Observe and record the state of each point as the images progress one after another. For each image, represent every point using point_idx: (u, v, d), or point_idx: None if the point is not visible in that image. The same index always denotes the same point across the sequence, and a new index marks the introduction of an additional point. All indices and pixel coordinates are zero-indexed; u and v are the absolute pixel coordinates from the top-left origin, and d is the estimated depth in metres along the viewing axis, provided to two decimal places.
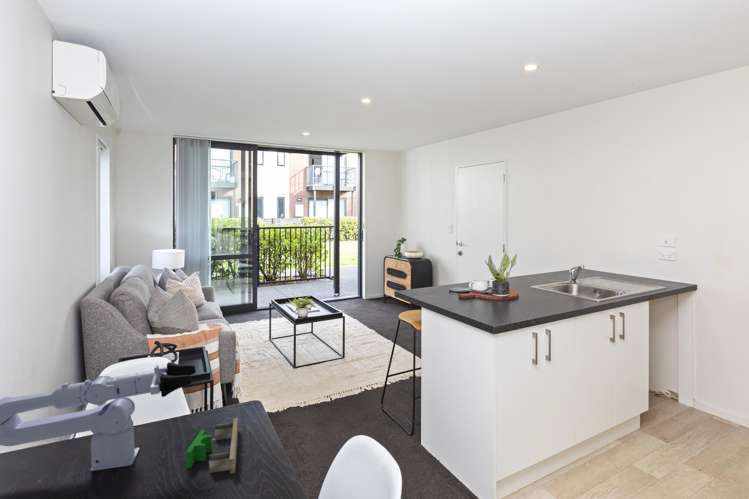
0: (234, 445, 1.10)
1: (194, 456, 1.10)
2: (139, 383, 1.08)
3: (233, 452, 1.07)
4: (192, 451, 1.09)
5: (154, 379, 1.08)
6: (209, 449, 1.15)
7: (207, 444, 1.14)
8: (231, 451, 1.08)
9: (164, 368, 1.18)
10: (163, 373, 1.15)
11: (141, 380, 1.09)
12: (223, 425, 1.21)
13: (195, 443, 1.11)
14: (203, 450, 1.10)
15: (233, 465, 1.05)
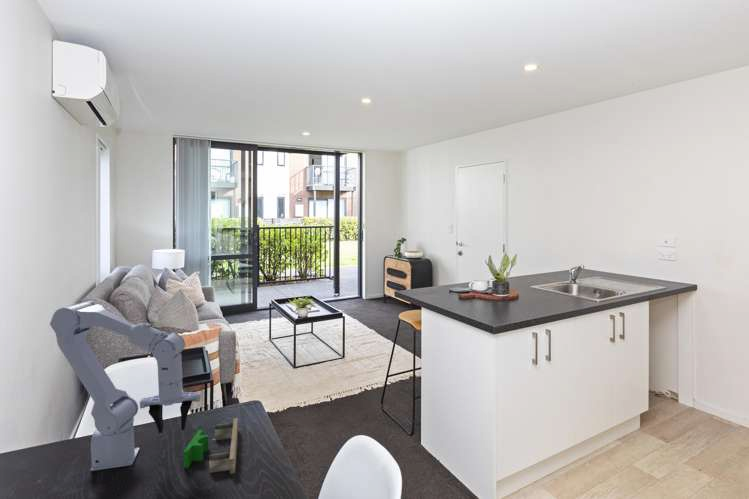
0: (234, 445, 1.10)
1: (191, 456, 1.10)
2: (158, 386, 1.07)
3: (233, 452, 1.07)
4: (190, 451, 1.09)
5: (153, 403, 1.07)
6: (206, 449, 1.15)
7: (204, 444, 1.14)
8: (231, 451, 1.08)
9: (195, 398, 1.10)
10: (182, 400, 1.10)
11: (159, 389, 1.07)
12: (223, 425, 1.21)
13: (192, 443, 1.11)
14: (200, 450, 1.10)
15: (233, 465, 1.05)
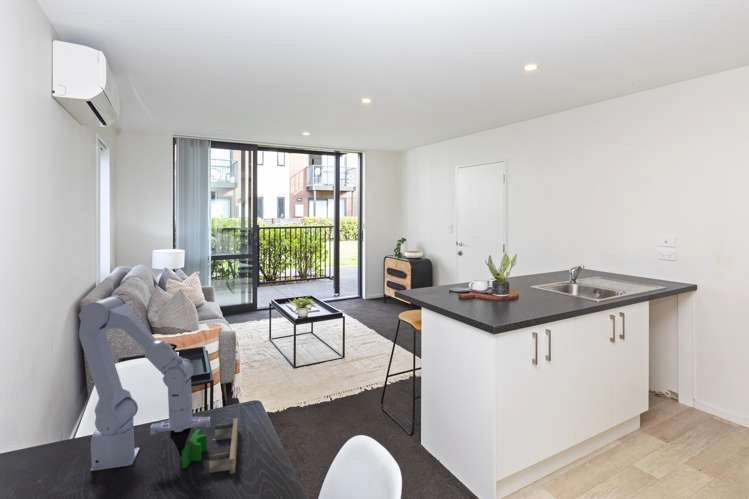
0: (234, 445, 1.10)
1: (190, 455, 1.10)
2: None
3: (233, 452, 1.07)
4: (188, 450, 1.09)
5: (163, 429, 1.08)
6: (204, 448, 1.15)
7: (202, 443, 1.14)
8: (231, 451, 1.08)
9: (204, 423, 1.11)
10: None
11: (169, 415, 1.08)
12: (223, 425, 1.21)
13: (191, 442, 1.11)
14: (199, 450, 1.10)
15: (233, 465, 1.05)
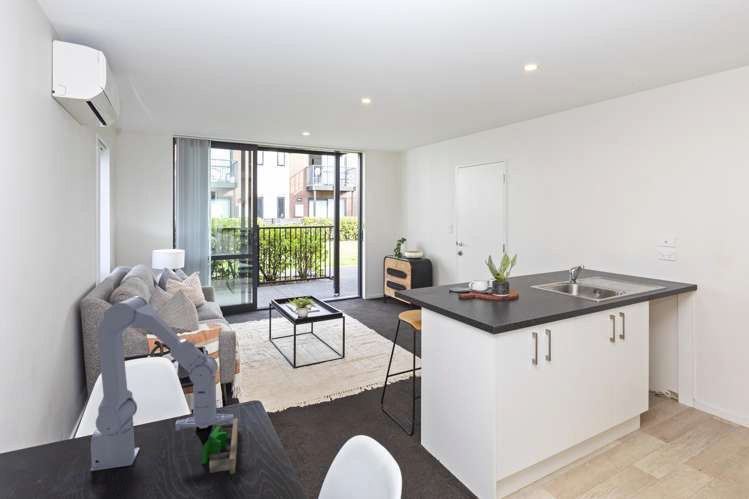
0: (234, 445, 1.10)
1: (209, 451, 1.11)
2: None
3: (233, 452, 1.07)
4: (208, 447, 1.10)
5: (188, 425, 1.09)
6: (223, 446, 1.16)
7: (222, 441, 1.16)
8: (231, 451, 1.08)
9: (228, 420, 1.13)
10: None
11: (194, 411, 1.10)
12: (223, 425, 1.21)
13: (211, 439, 1.13)
14: (218, 447, 1.11)
15: (233, 465, 1.05)
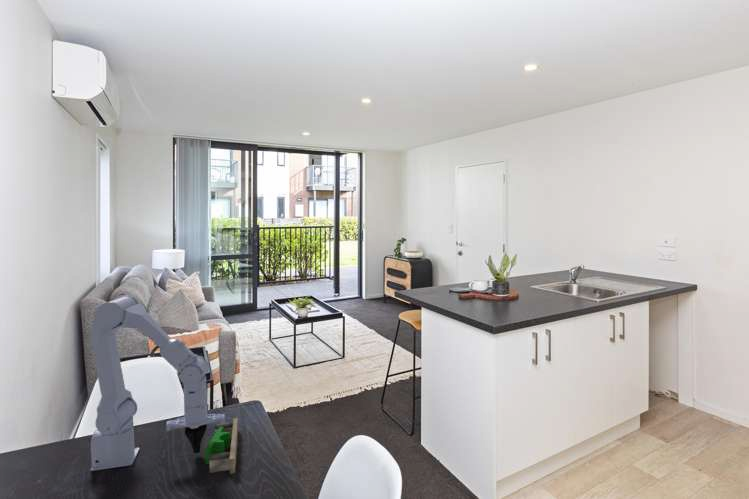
0: (234, 445, 1.10)
1: (213, 452, 1.12)
2: (184, 409, 1.10)
3: (233, 452, 1.07)
4: (212, 447, 1.10)
5: (179, 425, 1.09)
6: (227, 446, 1.16)
7: (225, 441, 1.16)
8: (231, 451, 1.08)
9: (219, 420, 1.12)
10: None
11: (185, 411, 1.09)
12: (223, 425, 1.21)
13: (214, 439, 1.13)
14: (222, 447, 1.12)
15: (233, 465, 1.05)
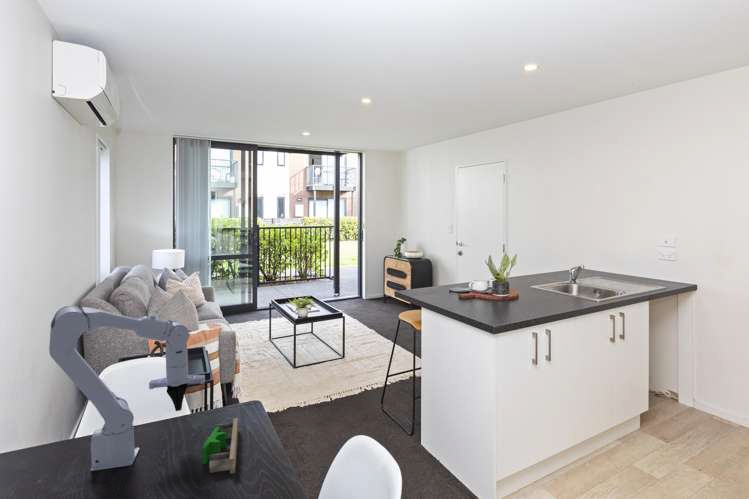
0: (234, 445, 1.10)
1: (209, 452, 1.12)
2: (166, 369, 1.17)
3: (233, 452, 1.07)
4: (207, 447, 1.10)
5: (161, 384, 1.16)
6: (224, 446, 1.16)
7: (222, 441, 1.16)
8: (231, 451, 1.08)
9: (199, 380, 1.20)
10: (188, 382, 1.19)
11: (167, 371, 1.16)
12: (223, 425, 1.21)
13: (210, 439, 1.13)
14: (218, 447, 1.12)
15: (233, 465, 1.05)
